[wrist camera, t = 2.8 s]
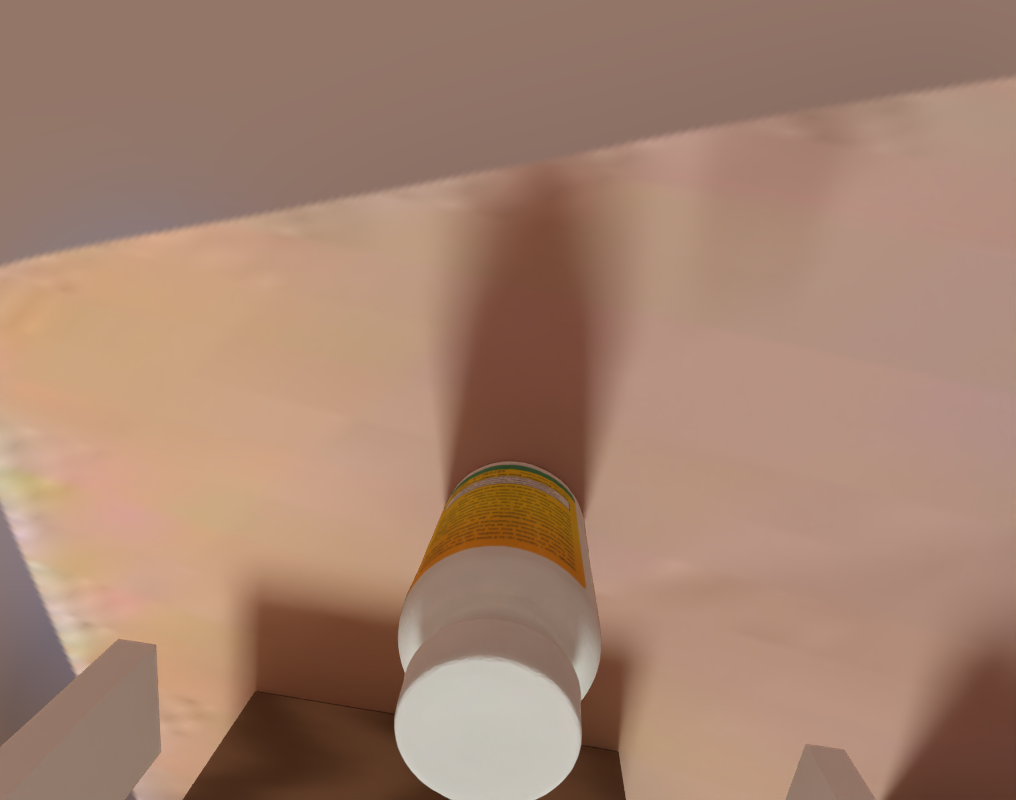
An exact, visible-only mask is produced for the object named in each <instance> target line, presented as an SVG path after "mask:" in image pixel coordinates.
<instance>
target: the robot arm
mask: <svg viewBox="0 0 1016 800" xmlns="http://www.w3.org/2000/svg"><path fill="white" fill-rule="evenodd" d="M160 752H161V741H160V719H159V697H158V676H157V654H156V645H155V644H148V643H142V642H135V641H129V640H122V639H118V640H117V641H116V642H115V643H114V644H113V645H112V646H111V647H109V648H108V649H107V650H106V651H105V652H104V653H103V654H102V655H101V656H100V657H98V658H97V659H96V660H95V661H94V662H93V663H92V664H91V665H90V666H89V667H88V668H86V669H85V670H84V671H83V672H82V673H81V674H80V675H79V676H78V677H77V678H76V679H74V680H73V681H72V682H71V683H70V684H69V685H68V686H67V687H66V688H65V689H63V690H62V691H61V692H60V693H59V694H58V695H57V696H56V697H55V698H54V699H53V700H51V702H49V703H48V704H47V705H46V706H45V707H44V708H43V709H42V710H40V711H39V712H38V713H37V714H36V715H35V716H34V717H33V718H32V719H31V720H30V721H28V722H27V723H26V724H25V725H24V726H23V727H22V728H21V729H20V730H19V731H17V733H15V734H14V735H13V736H12V737H11V738H10V739H9V740H8V741H7V742H5V743H4V744H3V745H2V746H1V747H0V800H125V798H126V797H127V796H128V794H129V793H130V792H131V791H132V789H133V788H134V787H135V785H136V784H137V783H138V781H139V780H140V779H141V777H142V776H143V775H144V773H145V772H146V771H147V769H148V768H149V767H150V766H151V764H152V763H153V762H154V760H155V759H156V758H157V756H158V755H159V754H160ZM786 800H876V799H875V798H874V796H873V794H872V793H871V791H870V790H869V788H868V786H867V785H866V783H865V782H864V780H863V779H862V777H861V775H860V774H859V772H858V771H857V769H856V767H855V766H854V764H853V763H852V761H851V759H850V758H849V756H848V755H847V753H846V752H845V750H843V749H836V748H830V747H823V746H817V745H810V744H806V745H805V748H804V750H803V753H802V756H801V759H800V761H799V764H798V767H797V770H796V772H795V775H794V778H793V781H792V783H791V786H790V789H789V792H788V794H787V797H786Z"/></svg>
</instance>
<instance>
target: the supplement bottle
mask: <svg viewBox="0 0 1016 800" xmlns="http://www.w3.org/2000/svg"><path fill="white" fill-rule="evenodd" d="M398 648H399V654H400V659H401V663H402V666H403V669H404V672H405V676H404V681H403V685H402V688H401V692H400V695H399V699H398V702H397V706H396V711H395V718H394V730H395V737H396V742H397V746H398V749H399V751H400V753H401V756H402V757H403V759H404V761H405V763H406V764H407V766H408V767H409V768H410V770H411V771H412V772H413V773H414V774H415V775H416V777H417V778H418V779H419V780H420V781H421V782H423V783H424V784H425V785H427V786H428V787H429V788H431V789H432V790H434V791H436V792H438V793H439V794H441V795H443V796H445V797H447V798H449V799H451V800H536V799H538V798H540V797H542V796H544V795H546V794H547V793H549V792H550V791H552V790H553V789H554V788H555V787H557V786H558V785H559V784H560V783H561V782H562V781H563V780H564V779H565V778H566V777H567V776H568V774H569V773H570V772H571V770H572V768H573V767H574V765H575V762H576V760H577V758H578V755H579V751H580V748H581V739H582V723H581V700H582V699H583V698H584V696H585V695H586V693H587V692H588V690H589V688H590V687H591V685H592V683H593V681H594V678H595V676H596V673H597V670H598V666H599V662H600V655H601V631H600V623H599V616H598V610H597V604H596V597H595V591H594V585H593V579H592V573H591V567H590V560H589V553H588V545H587V537H586V530H585V524H584V519H583V515H582V512H581V509H580V506H579V504H578V502H577V500H576V498H575V496H574V495H573V493H572V492H571V491H570V489H569V488H568V487H567V485H566V484H565V483H564V482H562V481H561V480H560V479H559V478H557V477H556V476H554V475H552V474H551V473H549V472H547V471H546V470H544V469H542V468H539V467H537V466H535V465H531V464H528V463H524V462H516V461H506V462H497V463H492V464H489V465H486V466H483V467H481V468H479V469H476V470H475V471H473V472H471V473H470V474H468V475H467V476H466V477H465V478H464V479H463V480H462V481H461V482H460V483H459V484H458V485H457V486H456V488H455V489H454V491H453V492H452V494H451V495H450V497H449V499H448V501H447V503H446V505H445V507H444V510H443V512H442V514H441V517H440V519H439V522H438V524H437V526H436V529H435V531H434V534H433V536H432V539H431V541H430V543H429V545H428V548H427V550H426V553H425V555H424V558H423V561H422V563H421V565H420V568H419V570H418V572H417V574H416V576H415V579H414V581H413V583H412V585H411V587H410V589H409V591H408V594H407V596H406V599H405V602H404V606H403V609H402V613H401V616H400V621H399V628H398Z"/></svg>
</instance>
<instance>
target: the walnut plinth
mask: <svg viewBox="0 0 1016 800" xmlns="http://www.w3.org/2000/svg"><path fill="white" fill-rule="evenodd" d="M394 718H395V715H393V714H387V713H381V712H375V711H369V710H363V709H357V708H351V707H345V706H339V705H333V704H327V703H321V702H315V701H309V700H303V699H297V698H291V697H285V696H279V695H273V694H267V693H261V692H255V693H254V694H253V696H252V697H251V698H250V700H249V701H248V703H247V704H246V706H245V707H244V709H243V710H242V712H241V713H240V715H239V716H238V718H237V719H236V721H235V722H234V724H233V725H232V727H231V728H230V730H229V731H228V733H227V734H226V736H225V737H224V739H223V740H222V742H221V743H220V745H219V746H218V748H217V749H216V751H215V752H214V754H213V755H212V757H211V758H210V760H209V761H208V763H207V764H206V766H205V767H204V769H203V770H202V772H201V773H200V775H199V776H198V778H197V779H196V781H195V782H194V784H193V785H192V787H191V788H190V790H189V791H188V793H187V794H186V796H185V797H184V799H183V800H451V799H449V798H447V797H445V796H443V795H441V794H439V793H438V792H436V791H434V790H432V789H431V788H429V787H428V786H427V785H425V784H424V783H423V782H421V781H420V780H419V779H418V778H417V777H416V775H415V774H414V773H413V772H412V771H411V770H410V768H409V767H408V766H407V764H406V763H405V761H404V759H403V757H402V756H401V753H400V751H399V749H398V746H397V742H396V737H395V730H394ZM536 800H626V798H625V791H624V785H623V778H622V772H621V765H620V759H619V752H615V751H609V750H603V749H597V748H591V747H585V746H581V748H580V751H579V755H578V758H577V760H576V762H575V765H574V767H573V768H572V770H571V772H570V773H569V774H568V776H567V777H566V778H565V779H564V780H563V781H562V782H561V783H560V784H559V785H558V786H557V787H555V788H554V789H553V790H552V791H550V792H549V793H547V794H546V795H544V796H542V797H540V798H538V799H536Z"/></svg>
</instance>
